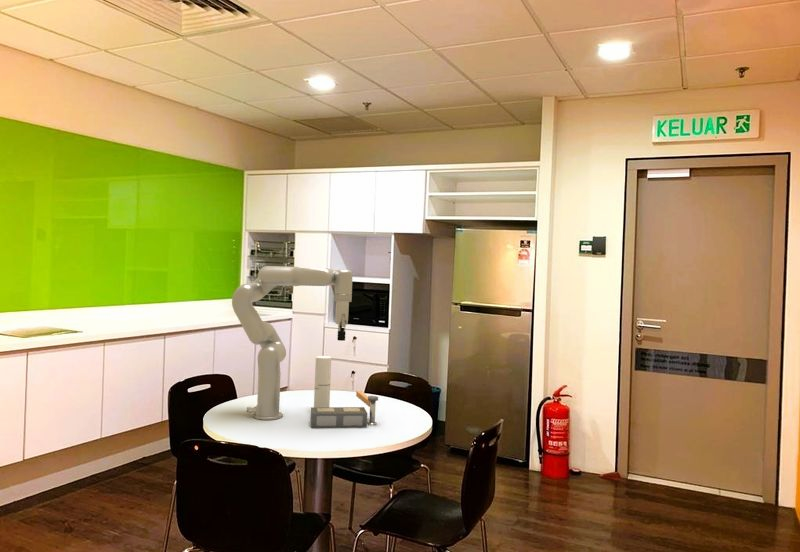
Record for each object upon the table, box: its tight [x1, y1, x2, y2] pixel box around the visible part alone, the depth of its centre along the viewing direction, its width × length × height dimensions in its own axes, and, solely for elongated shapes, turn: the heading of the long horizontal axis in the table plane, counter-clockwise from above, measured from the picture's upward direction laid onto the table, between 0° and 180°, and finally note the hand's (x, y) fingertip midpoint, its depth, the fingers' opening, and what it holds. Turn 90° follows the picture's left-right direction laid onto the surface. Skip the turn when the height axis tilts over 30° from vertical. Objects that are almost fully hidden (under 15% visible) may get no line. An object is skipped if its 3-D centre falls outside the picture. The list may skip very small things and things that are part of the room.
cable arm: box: [355, 390, 379, 408], centre depth 270 cm, size 26×4×5 cm, turn 19°
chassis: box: [310, 406, 368, 429], centre depth 256 cm, size 23×11×6 cm, turn 101°
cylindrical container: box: [313, 355, 332, 407], centre depth 279 cm, size 7×7×25 cm
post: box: [367, 401, 378, 426], centre depth 259 cm, size 4×4×10 cm
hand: (341, 340), depth 262 cm, fingers closed
